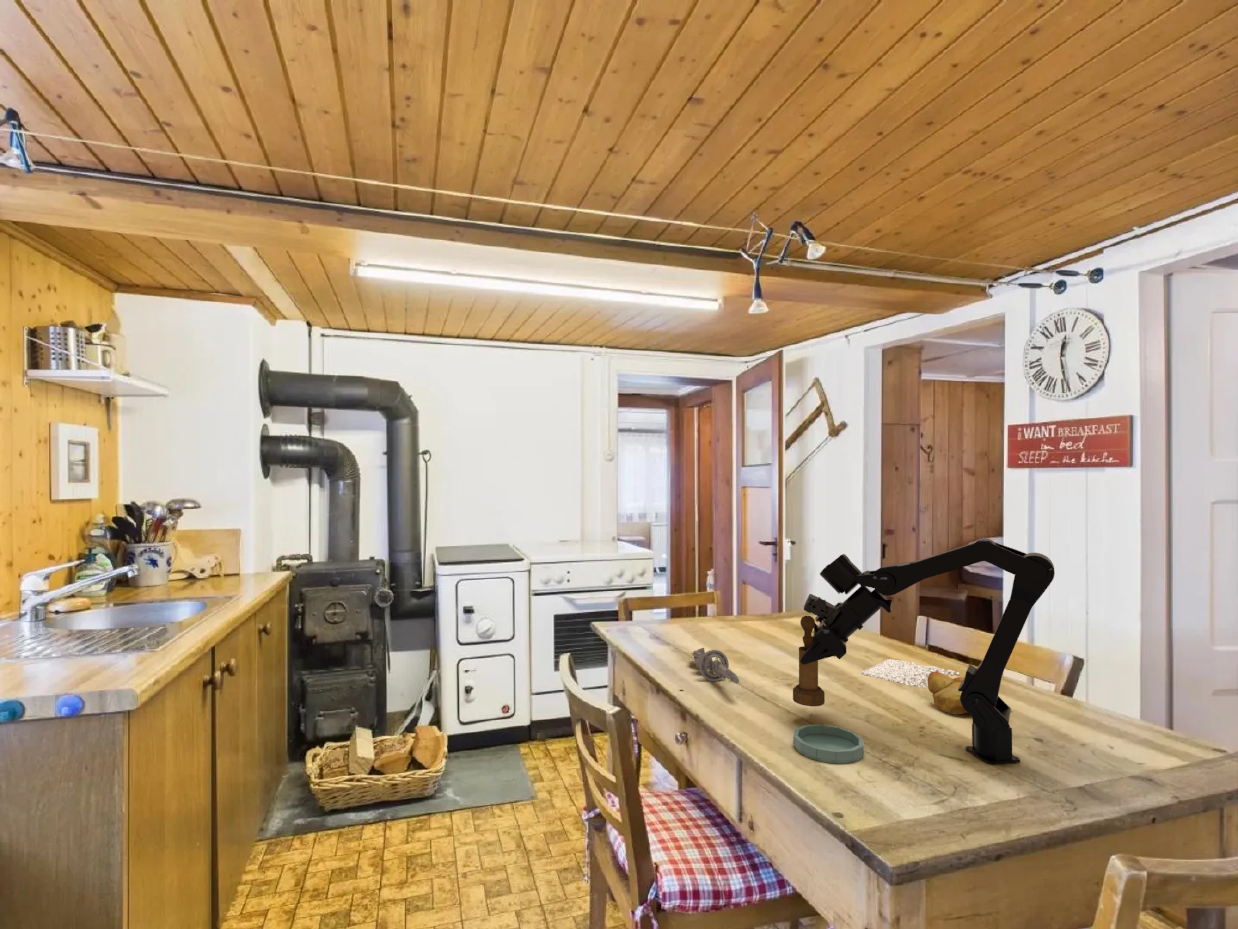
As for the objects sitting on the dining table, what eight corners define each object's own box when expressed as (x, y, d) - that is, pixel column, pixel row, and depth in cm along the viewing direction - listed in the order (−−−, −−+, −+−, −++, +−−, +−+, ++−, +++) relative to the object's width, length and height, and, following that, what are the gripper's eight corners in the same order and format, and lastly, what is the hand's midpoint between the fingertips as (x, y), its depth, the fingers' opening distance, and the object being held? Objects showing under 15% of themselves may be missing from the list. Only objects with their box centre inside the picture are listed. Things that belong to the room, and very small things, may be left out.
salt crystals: (888, 662, 179) (888, 656, 179) (963, 677, 165) (963, 671, 165) (858, 676, 165) (858, 670, 165) (937, 694, 151) (937, 688, 151)
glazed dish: (877, 761, 113) (876, 749, 113) (811, 765, 111) (811, 753, 112) (842, 734, 126) (842, 723, 126) (783, 737, 124) (783, 726, 124)
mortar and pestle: (826, 707, 128) (825, 620, 129) (794, 705, 129) (793, 618, 130) (822, 697, 134) (821, 613, 135) (791, 695, 136) (790, 612, 136)
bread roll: (975, 702, 145) (975, 667, 145) (1004, 718, 135) (1004, 680, 135) (922, 703, 144) (922, 668, 144) (948, 719, 134) (947, 682, 134)
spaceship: (716, 671, 142) (746, 656, 143) (677, 647, 176) (701, 635, 177) (730, 703, 141) (760, 688, 143) (687, 673, 175) (712, 661, 177)
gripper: (825, 576, 140) (775, 622, 143) (827, 589, 123) (771, 641, 125) (863, 613, 138) (811, 659, 141) (871, 632, 120) (812, 684, 123)
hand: (801, 660), depth 132 cm, fingers closed on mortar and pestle, 4 cm apart
